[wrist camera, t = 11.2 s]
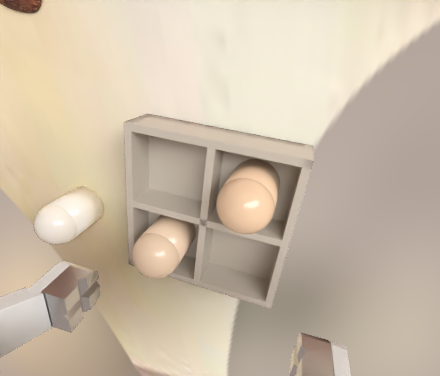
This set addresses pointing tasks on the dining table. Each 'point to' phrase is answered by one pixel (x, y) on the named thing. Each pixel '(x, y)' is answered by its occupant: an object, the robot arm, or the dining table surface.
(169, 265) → the seated egg
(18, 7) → the brown flat tapered piece
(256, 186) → the brown egg
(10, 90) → the dining table surface
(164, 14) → the dining table surface
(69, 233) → the white egg
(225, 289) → the carton
